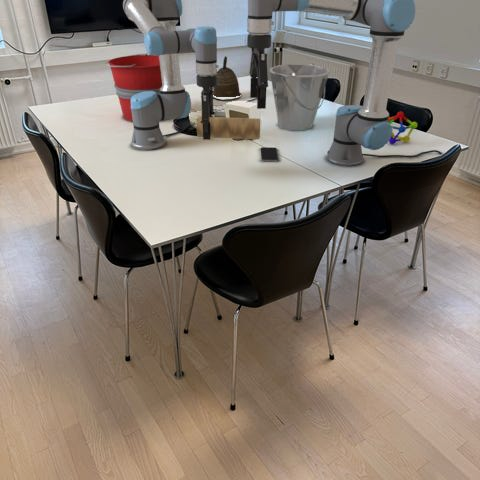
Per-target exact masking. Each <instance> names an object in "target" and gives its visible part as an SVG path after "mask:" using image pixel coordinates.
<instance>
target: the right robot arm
mask: <svg viewBox="0 0 480 480" xmlns="http://www.w3.org/2000/svg"><path fill="white" fill-rule="evenodd" d="M277 12H302V13H310V14H318V15H326V16H327V15H328V16H335V17H342V19H343V20H345V21H351V22H355V23H359V24H361V25H364V26H366V27H369V36H370V38H371V39H372V44H371V50H370V51H371V52H370V58H369V63H368V69H367V70H368V71H367V76H366V83H365V91H364V97H363V103H362V105H359V104H349V105H348V104H347V105H346V104H345V105H342V106H338V108H337V111H336V114H335V122H334V132H333V139H332V143H331V145H330V146H329V149H328V151H327V153H326V154H327V155H326V159H327V161H328V162H329V163H331V164H334V165H337V166H340V167H341V166H342V167H353V166H359V165H362V163H363V160H364V156H366V157H372V158H373V157H374V158H417V157H419V156H421V155H423V154H429V153H437V154H439V155H443V153H442V152H441V151H440V150H437V149H434V150H433V149H431V150H427V151H422V152H419V153H418V154H413V155H405V154H385V155H381V154H370V153H363V149H362V147H363V148H365V149H368V150H369V151H370V150H371V151H377V150H380V149H382V148H383V147H385V145H386V144H388V143H389V140H390V138H391V136H392V133H393V130H394V129H393V128H392V126H393V125H391V124H390V123H388V118H389V117H390V113H389V111H388V110H387V106H388V100H389V94H390V88H391V83H392V77H393V72H394V67H395V62H396V61H395V60H396V55H397V49H398V44H399V41H400V40H401V39H402V38H403V37H404V36H405V31H407V30H408V29H410V27H411V25H412V24H413V22H414V20H415V16H416V4H415V1H414V0H247V19H246V21H247V25H246V26H247V27H246V29H247V30H246V31H247V32H246V33H248V34H247V37H246V38H247V39H246V40H247V41H246V42H247V43H246V45H247V47H248V48H249V49H250V50H251V56H250V66H249V72H248V73H249V77H250V83H249V84H250V88H249V89H250V91H249V93H250V94H249V95H250V99H255V98H257V99H256V109H258V110H263V109H267V108H266V107H267V88H269V76H268V74H269V73H268V54H267V53H265V49H270V48H271V47H272V34H271V33H272V31H273V30H272V28H273V27H272V26H273V25H274V22H275V21H273V13H277Z"/></svg>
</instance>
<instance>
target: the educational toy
mask: <svg viewBox="0 0 480 480" xmlns="http://www.w3.org/2000/svg"><path fill="white" fill-rule="evenodd" d="M397 119H399V124H400V125H399V127H398V126H393V125H391V124H392V123H394V122H395V121H396V120H397ZM403 120H404V121H405V122H407V123H408V124H409V125H407V126H404V123H403ZM388 123H390V125H391V126H392V129H393V130H397V131H398V132H396V134H395V133H394V132H392V136H391V138H390V140H389V141H388V143H389V145H395V144H396V143H397V142H402V141H403V142H404V143H409V142H410V140H411V138H410V136H411V134H412V132H413V131H414V130H415V129H417V127H418V122H417V121H411V120H410V119H409V118H408V117H406V116H405V113H404V112H403V111H401V110H400V111H398V112H397V114H396V115H394V116H391V117H390V116H389V118H388ZM408 129H409V131H408V133H407V134H406V135H404V136H401V134H403V133H405V132H406V130H408ZM399 135H400V136H399Z"/></svg>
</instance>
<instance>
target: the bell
mask: <svg viewBox="0 0 480 480" xmlns="http://www.w3.org/2000/svg"><path fill="white" fill-rule="evenodd" d="M227 63H228V57H227V56H224V58H223V63H222V67H221V68H219V69H217V73H216V75H217V86H215V87H213V95H214V96H216V97H236V96H240V95H241V96H242V93H241V92H240V83H239V80H238V79H239V78H238V77H237V75H236V73H235V72H234V70H232V69H231V68H230V67H227Z"/></svg>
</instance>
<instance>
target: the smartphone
mask: <svg viewBox="0 0 480 480" xmlns="http://www.w3.org/2000/svg"><path fill="white" fill-rule="evenodd" d="M278 155H279V154H278V149H277V147H273V146H272V147H268V146H267V147H266V146H263V147H260V159H261V161H262V162H279V156H278Z"/></svg>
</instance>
